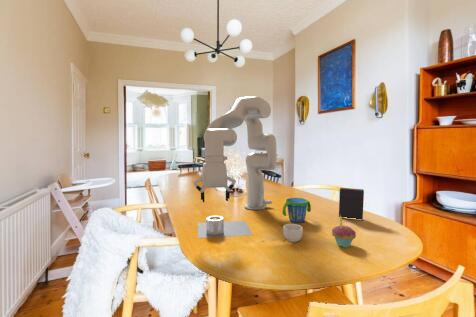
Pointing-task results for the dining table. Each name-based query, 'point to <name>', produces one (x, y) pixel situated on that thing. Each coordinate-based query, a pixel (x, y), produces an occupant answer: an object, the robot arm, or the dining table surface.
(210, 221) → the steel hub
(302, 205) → the snack cup
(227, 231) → the stand
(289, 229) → the teacup
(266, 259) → the dining table surface
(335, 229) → the cupcake
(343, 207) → the black upright rectangular panel
